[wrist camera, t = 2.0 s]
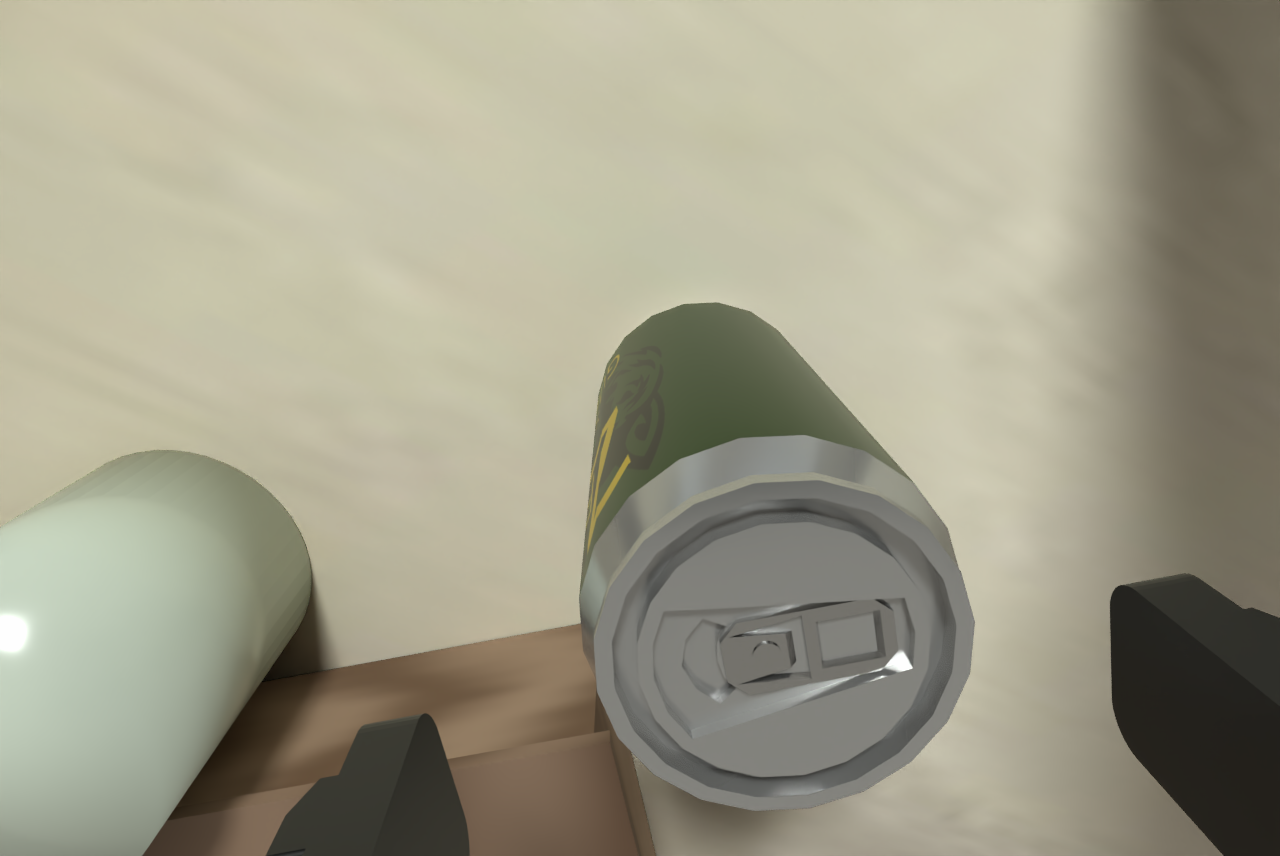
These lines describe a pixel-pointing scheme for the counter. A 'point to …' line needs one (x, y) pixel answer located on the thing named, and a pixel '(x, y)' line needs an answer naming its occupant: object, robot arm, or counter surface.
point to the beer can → (760, 573)
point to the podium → (471, 737)
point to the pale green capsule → (134, 643)
